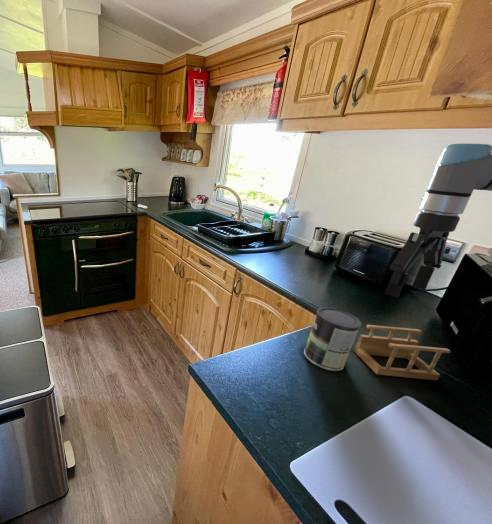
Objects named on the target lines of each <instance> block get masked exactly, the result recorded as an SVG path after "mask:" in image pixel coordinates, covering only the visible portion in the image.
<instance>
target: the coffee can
mask: <svg viewBox="0 0 492 524" xmlns="http://www.w3.org/2000/svg"><path fill="white" fill-rule="evenodd" d="M361 327H362V322H361V320H360V319H359V318H358V317H357V316H354V315H353V314H351V313H349V312H347V311H345V310H342V309H340V308H339V309H338V308H334V307H329V306H328V307H319V308H317V310H316V313H315V317H314V321H313V323H312V326H311V330H310V333H309V334H308V335H309V336H308V339H307V342H306V344H305V347H304V350H303V356H304V357H305V358H306V359H307V360H308V361H309V362H310V363H311V364H313V365H315V366H317V367H318V368H321V369H324V370H326V371H332V372H339V371H342V370H344V368H345V366H346V362H347V360H348V358H349V355H350V352H351V349H352V347H353V345H354V342H355V340H356V337H357V335H358V332H359V330H360V328H361Z"/></svg>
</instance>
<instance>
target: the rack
mask: <svg viewBox="0 0 492 524" xmlns="http://www.w3.org/2000/svg"><path fill="white" fill-rule="evenodd" d="M365 328H366V329H367V330H370V331H369V333H368V334H360V335H359V337H358V340H357V342H356V345H355V347H354V349H353V352H354V353H355V354H356V355H357V356H358V357H359V358H360V359H361V360H362V361H363V362H364V363H365V364H366V365H367V366H368V367H369V368H370V369H371V370H372V371H373V373H374V374H376V375H378V376H388V377H389V376H390V377H400V378H408V379H418V380H419V379H420V380H429V381H438V379H439V378H440V377H441V374H440V373H439V372H437V371H436V370H435V367H436V365H437V363H438V361H439V359H440V357H441V356H442V354H450V353H451V350H450V349H448V348H445V347H437V346H436V347H435V346H424V345H419V340H417V339H413V337H414V335H415V334H422V333H423V331H422V330H421V329H418V328H407V327H399V326H398V327H397V326H396V327H395V326H387V325H386V326H385V325H376V324H366V325H365ZM376 330H378V331H388V332H389V334H388V335H387V336H381V335H380V336H379V335H375V332H376ZM395 332H400V333H408V335H407V338H401V337H393V336H394V334H395ZM420 352H430V353H431V352H432V353H435V355H434V356H433V358H432V360H431V363H430V364H428V363H427V362H425V360H423V359H421V358H420V357H419V354H420ZM372 356H378V357H386V358H387V357H389V358H388V360H387V362H386V364H385V366H382V365H380V363H378V362H377V361H376V360H375V359H374V358H373V357H372ZM395 358H396V359H397V358H398V359H406V360H408V361H409V362H408V364H407V365H406V368H404V367H393V366H392V364H393V362H394V360H395ZM413 366H415V367H416V368H417V369H413Z"/></svg>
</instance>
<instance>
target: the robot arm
mask: <svg viewBox="0 0 492 524" xmlns="http://www.w3.org/2000/svg"><path fill="white" fill-rule="evenodd" d="M434 168H435V169H434V170H433V174H432V176H431V179H430V182H429V184H428V187H427V189H426V192H425V194H424V195H423V196H422V197H421V201H422V202H421V204H420V207H419V209H420V211H418V212H417V213H416V215H415V219H414V220H413V226H414V227H416V228H419V230H418V232H413V231H411V232H410V234H409V236H408V238H407V240H406V242H405V243H404V245H403V246H402V247H401V250H400V251H399V253H398V254H397V256H396V257H395V258H394V260H393V261H392V263H391V264H390V266H389V270H391V271H392V274H391V276H390V279H389V282H388V284H387V287H386V288H385V291H384V294H385V295H388V296H391V297H393V298H396V299H397V298H399V297H400V294H401V292H402V290H403V287H404V286H405V283H406V280H407V278H408V276H409V273H408V272H409V271H410V269H411V268H412V267H413V265H414V264H415V263H416V262H417V261H418V259H419V258H420V257H421V256H422V255H423V264H420V266H419V268H418V271H417V272H416V276H415V277H414V280H413V282H412V284H411V287H412V288H414V289H417V290H419V291H420V290H421V291H426V289H427V287H428V284H429V282H430V281H431V278H432V276H433V273H434V271H435V269H441V267H442V262H443V258H444V253H445V250H446V249H445V248H446V246H447V240H448V238H449V235H450V233H452V232H454V231H456V229H457V226H458V225H459V222H460V221H461V218H460V215H463V214H464V212H465V210H466V208H467V205H468V203H469V200H470V198H471V196H472V194H473V192H474V190H476V191H488V192H492V144H488V143H452V144H449V145H447V146H446V147H445V148H444V149H443V151H442V153H441V155H440V156H439V159H438V161H437V163H436V164H435V167H434Z"/></svg>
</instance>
